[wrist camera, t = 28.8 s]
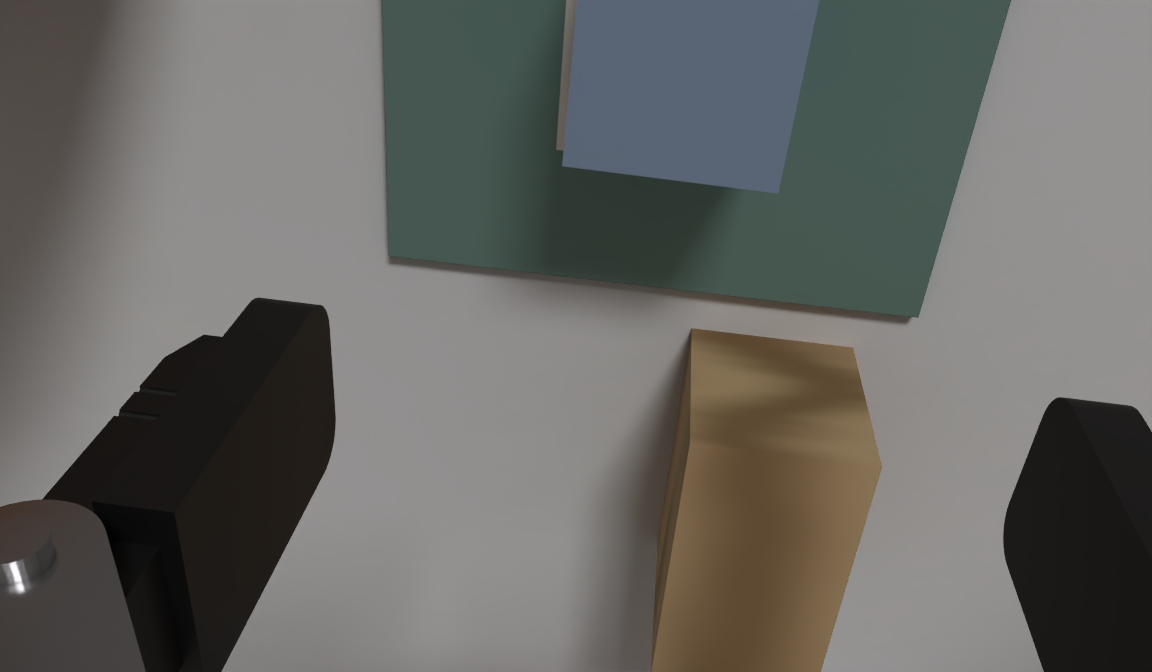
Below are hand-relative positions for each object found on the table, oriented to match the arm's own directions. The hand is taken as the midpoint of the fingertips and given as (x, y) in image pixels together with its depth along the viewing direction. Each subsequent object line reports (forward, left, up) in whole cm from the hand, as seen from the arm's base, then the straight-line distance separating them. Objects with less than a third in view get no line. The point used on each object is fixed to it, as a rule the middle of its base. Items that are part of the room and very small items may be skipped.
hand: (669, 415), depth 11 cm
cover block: (-4, +14, -18) cm, 23 cm away
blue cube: (0, 0, -18) cm, 18 cm away
